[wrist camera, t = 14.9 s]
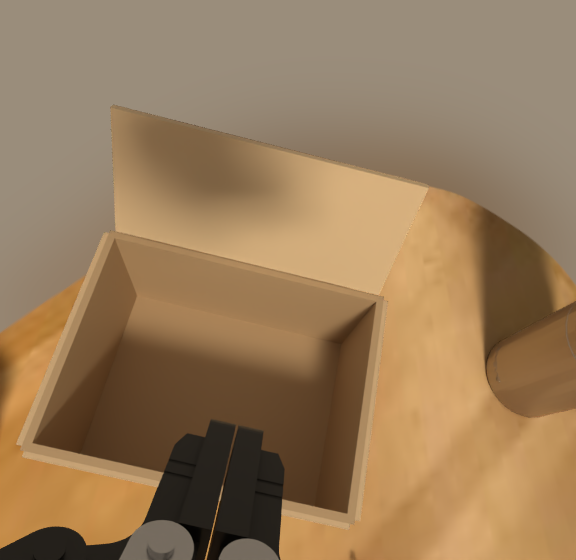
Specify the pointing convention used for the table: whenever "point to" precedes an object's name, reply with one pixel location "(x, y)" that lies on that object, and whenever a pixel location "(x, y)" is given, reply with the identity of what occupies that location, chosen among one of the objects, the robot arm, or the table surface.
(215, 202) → the carton flap
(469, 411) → the table surface
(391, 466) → the table surface
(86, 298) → the carton
